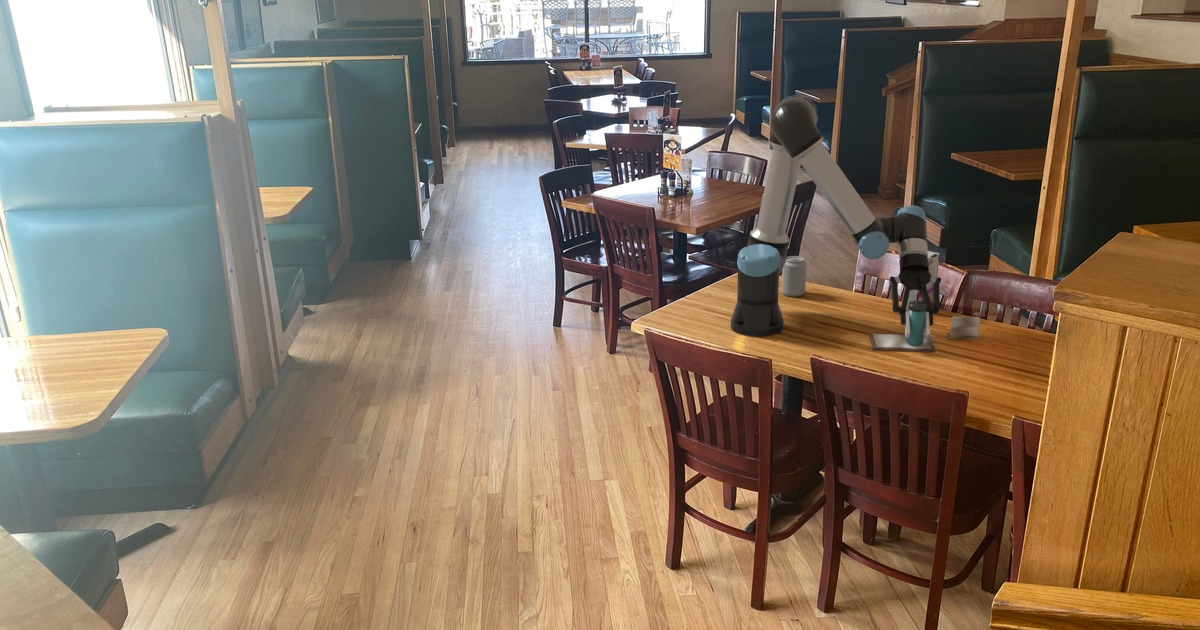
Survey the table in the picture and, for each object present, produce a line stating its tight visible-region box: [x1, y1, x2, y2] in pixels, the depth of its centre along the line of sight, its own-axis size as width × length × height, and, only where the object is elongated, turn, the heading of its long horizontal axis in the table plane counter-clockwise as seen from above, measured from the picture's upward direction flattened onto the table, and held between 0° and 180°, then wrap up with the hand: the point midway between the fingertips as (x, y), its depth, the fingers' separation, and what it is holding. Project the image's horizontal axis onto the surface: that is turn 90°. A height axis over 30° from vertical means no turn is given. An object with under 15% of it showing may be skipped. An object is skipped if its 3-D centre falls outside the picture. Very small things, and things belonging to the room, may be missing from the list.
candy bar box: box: [903, 250, 940, 311], centre depth 262 cm, size 11×5×16 cm, turn 131°
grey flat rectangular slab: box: [868, 333, 937, 353], centre depth 237 cm, size 16×11×2 cm
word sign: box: [947, 316, 981, 342], centre depth 238 cm, size 8×2×6 cm, turn 79°
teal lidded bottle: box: [906, 301, 927, 345], centre depth 233 cm, size 5×5×11 cm
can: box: [781, 255, 808, 298], centre depth 278 cm, size 8×8×12 cm
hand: (917, 335), depth 230 cm, fingers closed on teal lidded bottle, 4 cm apart
